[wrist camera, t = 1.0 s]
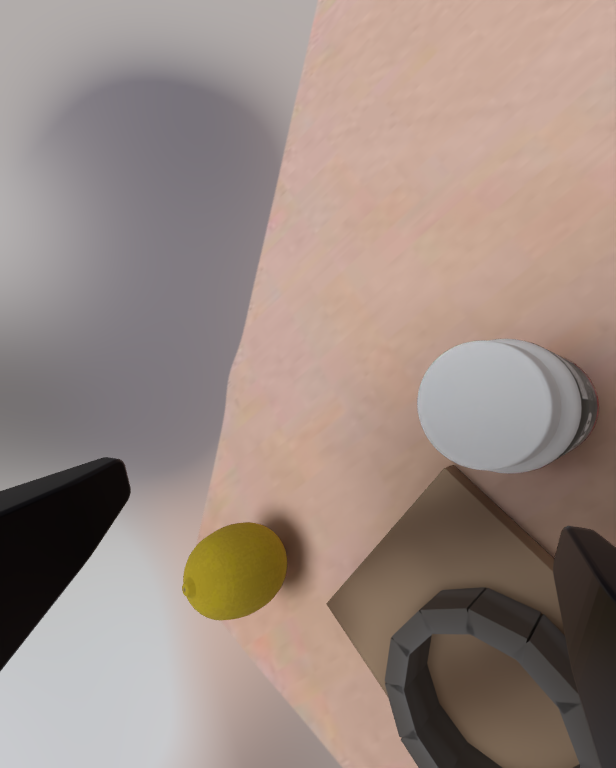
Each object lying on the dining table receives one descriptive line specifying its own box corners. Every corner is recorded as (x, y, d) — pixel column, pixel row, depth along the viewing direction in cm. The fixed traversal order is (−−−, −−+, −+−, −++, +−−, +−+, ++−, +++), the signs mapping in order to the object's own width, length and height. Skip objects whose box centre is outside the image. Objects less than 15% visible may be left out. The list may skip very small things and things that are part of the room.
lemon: (289, 499, 29) (192, 526, 23) (322, 576, 26) (224, 629, 20) (247, 528, 31) (151, 559, 25) (274, 600, 29) (176, 652, 23)
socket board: (853, 838, 12) (911, 967, 9) (569, 933, 17) (552, 1038, 14) (453, 465, 21) (422, 475, 18) (337, 596, 25) (299, 620, 23)
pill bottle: (526, 474, 19) (460, 514, 12) (465, 394, 21) (381, 392, 14) (629, 417, 16) (613, 429, 10) (548, 332, 18) (492, 297, 12)
